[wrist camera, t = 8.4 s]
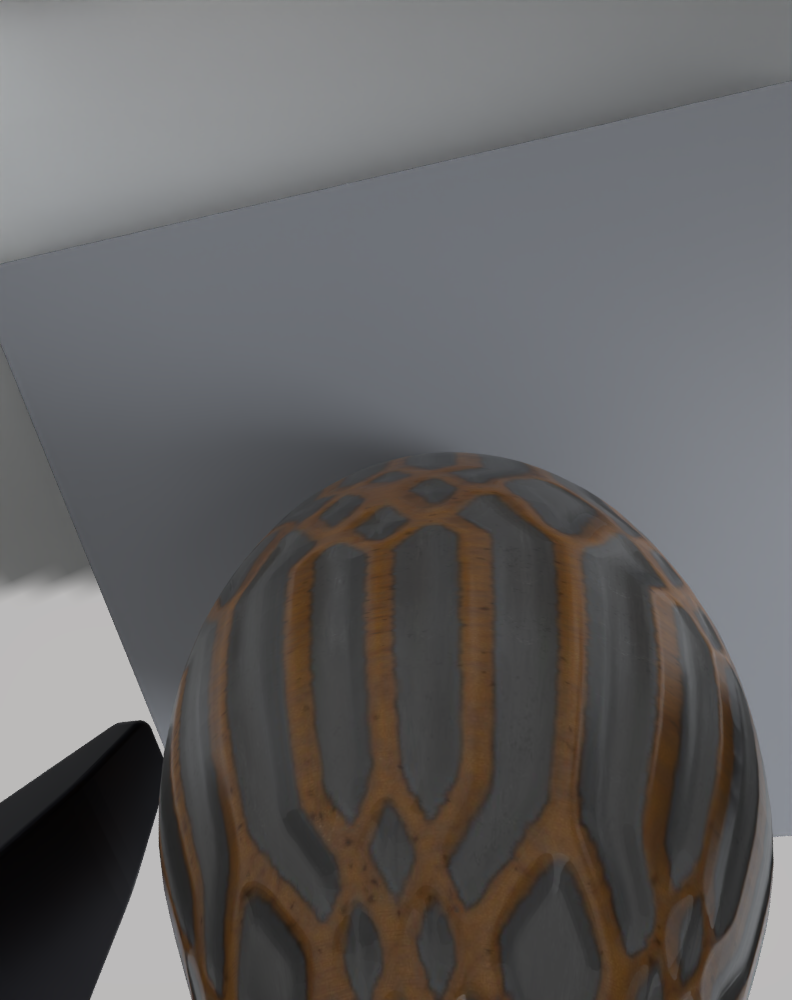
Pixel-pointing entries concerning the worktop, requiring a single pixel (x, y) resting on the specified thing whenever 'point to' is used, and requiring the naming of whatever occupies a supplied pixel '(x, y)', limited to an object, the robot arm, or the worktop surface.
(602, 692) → the vase
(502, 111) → the worktop surface
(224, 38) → the worktop surface
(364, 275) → the board
